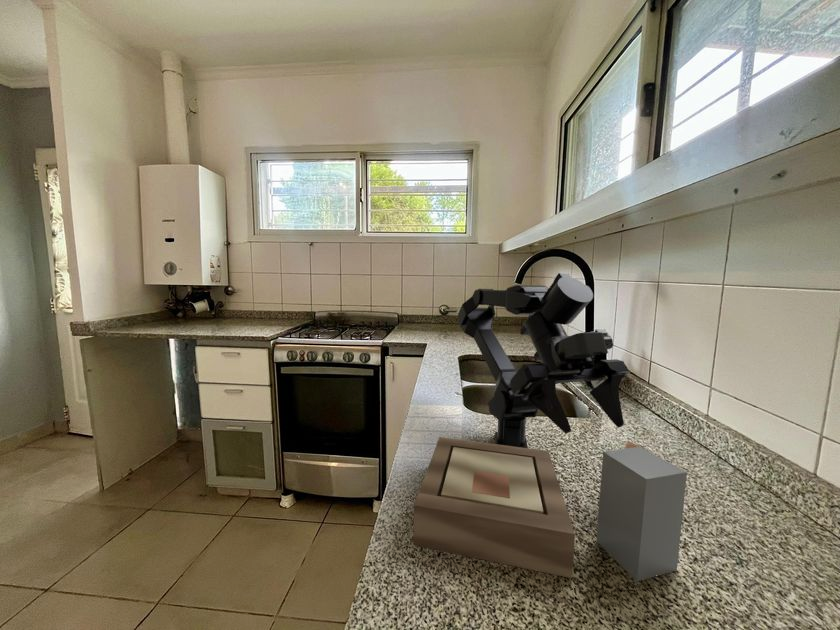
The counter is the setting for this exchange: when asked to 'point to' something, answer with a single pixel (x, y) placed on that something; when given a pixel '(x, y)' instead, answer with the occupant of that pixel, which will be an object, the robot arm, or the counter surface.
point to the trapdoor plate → (492, 480)
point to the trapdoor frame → (496, 517)
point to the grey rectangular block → (641, 511)
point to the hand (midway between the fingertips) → (595, 429)
